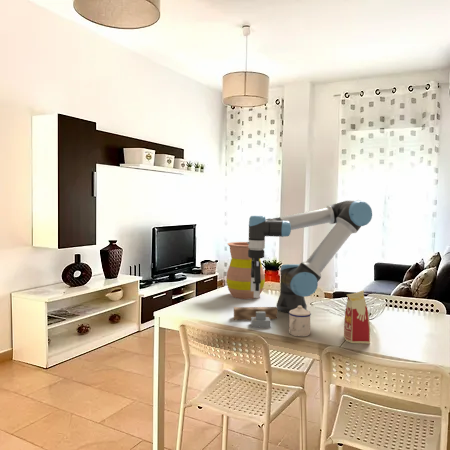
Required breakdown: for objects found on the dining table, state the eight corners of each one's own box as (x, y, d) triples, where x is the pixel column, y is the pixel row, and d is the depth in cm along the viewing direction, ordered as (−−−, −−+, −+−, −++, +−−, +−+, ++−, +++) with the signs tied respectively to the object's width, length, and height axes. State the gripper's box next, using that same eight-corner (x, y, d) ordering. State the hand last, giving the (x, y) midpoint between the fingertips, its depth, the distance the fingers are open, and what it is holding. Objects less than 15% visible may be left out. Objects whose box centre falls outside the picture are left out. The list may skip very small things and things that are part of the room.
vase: (221, 292, 255) (222, 242, 253) (256, 290, 262) (256, 241, 260) (233, 301, 234) (233, 246, 232) (270, 299, 241) (271, 245, 239)
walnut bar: (275, 317, 205) (275, 306, 205) (277, 319, 201) (277, 309, 201) (233, 317, 204) (233, 307, 203) (234, 320, 200) (234, 309, 199)
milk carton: (363, 336, 177) (364, 287, 176) (371, 343, 168) (373, 292, 167) (341, 336, 177) (342, 287, 176) (348, 343, 168) (349, 292, 167)
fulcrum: (268, 323, 193) (268, 310, 193) (270, 327, 187) (270, 314, 187) (250, 323, 193) (251, 310, 193) (252, 327, 187) (252, 314, 187)
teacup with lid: (295, 328, 186) (296, 302, 186) (314, 333, 180) (315, 305, 180) (280, 335, 177) (280, 307, 176) (299, 340, 171) (300, 311, 171)
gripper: (246, 246, 213) (244, 288, 214) (250, 252, 188) (249, 300, 189) (261, 246, 213) (260, 288, 214) (267, 252, 188) (266, 300, 189)
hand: (255, 294), depth 202 cm, fingers open, 13 cm apart
